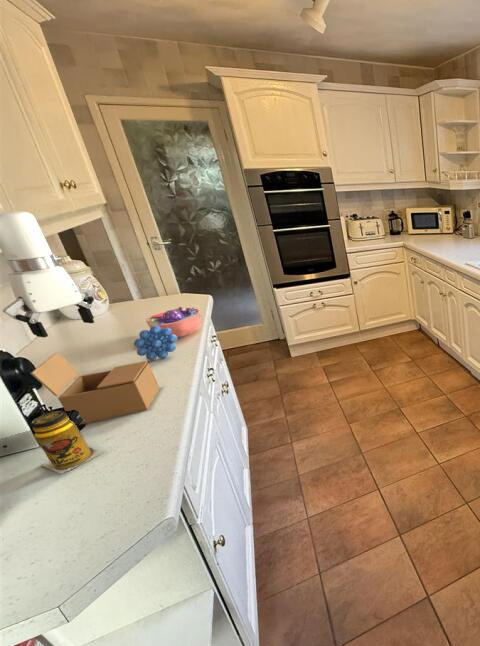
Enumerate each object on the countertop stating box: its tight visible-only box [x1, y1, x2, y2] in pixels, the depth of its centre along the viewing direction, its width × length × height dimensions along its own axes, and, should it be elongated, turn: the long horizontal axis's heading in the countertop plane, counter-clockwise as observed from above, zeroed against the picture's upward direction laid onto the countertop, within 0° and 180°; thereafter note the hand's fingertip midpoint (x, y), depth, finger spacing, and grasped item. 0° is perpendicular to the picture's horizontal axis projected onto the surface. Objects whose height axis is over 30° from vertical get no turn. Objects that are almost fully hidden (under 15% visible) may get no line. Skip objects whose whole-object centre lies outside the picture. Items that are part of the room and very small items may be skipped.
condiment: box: [30, 410, 104, 475], centre depth 88 cm, size 7×8×12 cm
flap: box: [30, 351, 80, 397], centre depth 102 cm, size 7×13×1 cm
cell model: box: [145, 306, 202, 339], centre depth 155 cm, size 17×20×11 cm
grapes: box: [133, 326, 178, 361], centre depth 136 cm, size 12×7×12 cm, turn 125°
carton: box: [57, 360, 160, 426], centre depth 108 cm, size 15×13×9 cm
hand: (66, 329), depth 103 cm, fingers open, 9 cm apart
